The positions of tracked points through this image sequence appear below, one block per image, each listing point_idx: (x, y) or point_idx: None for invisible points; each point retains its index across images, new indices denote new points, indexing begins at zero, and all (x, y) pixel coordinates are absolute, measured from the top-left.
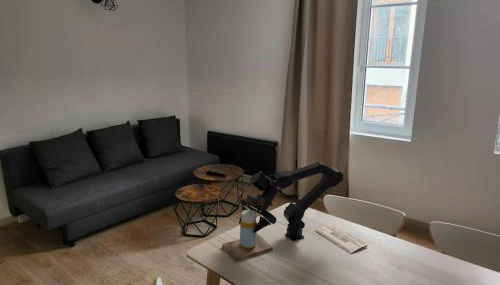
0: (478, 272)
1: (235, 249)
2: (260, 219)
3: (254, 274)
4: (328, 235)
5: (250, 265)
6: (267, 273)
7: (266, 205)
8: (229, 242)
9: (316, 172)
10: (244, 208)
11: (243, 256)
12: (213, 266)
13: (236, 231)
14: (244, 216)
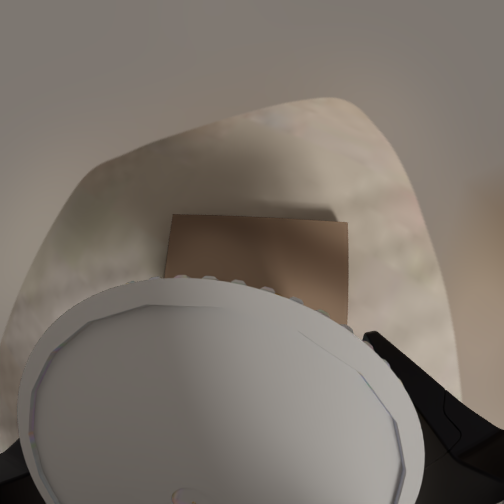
0: None
1: (251, 262)
2: (3, 470)
3: (65, 253)
4: None
5: (114, 274)
6: (45, 304)
7: None
8: (342, 268)
9: None
10: (491, 483)
11: (167, 269)
12: (208, 127)
13: (440, 378)
14: (110, 291)
